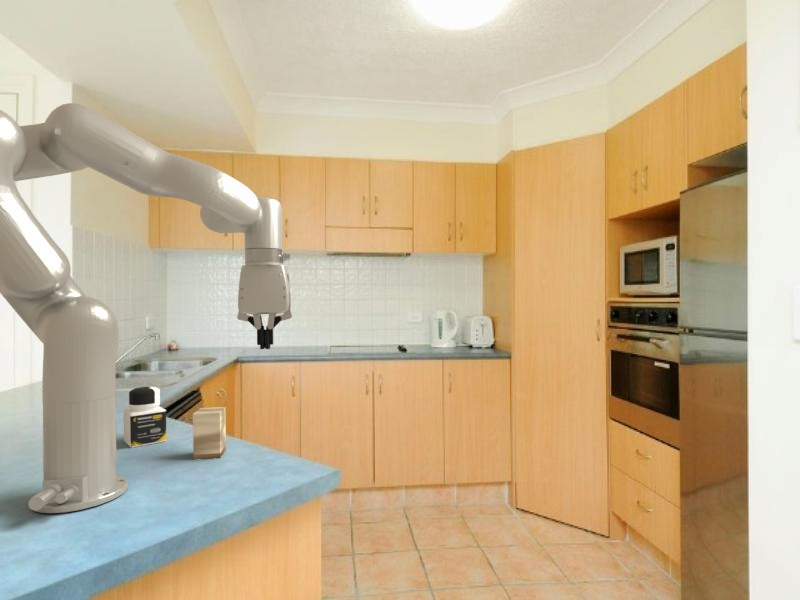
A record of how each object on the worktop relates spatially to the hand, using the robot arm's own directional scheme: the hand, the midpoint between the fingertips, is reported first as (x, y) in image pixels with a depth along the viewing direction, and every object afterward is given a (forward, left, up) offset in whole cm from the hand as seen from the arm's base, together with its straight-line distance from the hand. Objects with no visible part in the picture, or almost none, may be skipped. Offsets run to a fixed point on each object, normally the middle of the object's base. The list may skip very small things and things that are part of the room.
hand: (265, 348), depth 95 cm
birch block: (0, +11, -21) cm, 24 cm away
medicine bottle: (+13, +28, -21) cm, 38 cm away
